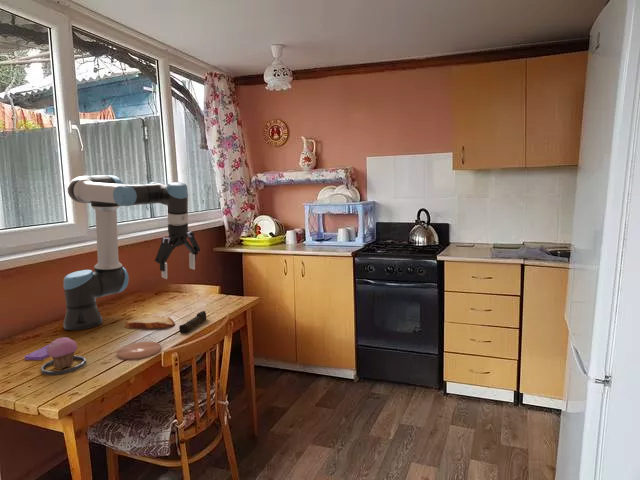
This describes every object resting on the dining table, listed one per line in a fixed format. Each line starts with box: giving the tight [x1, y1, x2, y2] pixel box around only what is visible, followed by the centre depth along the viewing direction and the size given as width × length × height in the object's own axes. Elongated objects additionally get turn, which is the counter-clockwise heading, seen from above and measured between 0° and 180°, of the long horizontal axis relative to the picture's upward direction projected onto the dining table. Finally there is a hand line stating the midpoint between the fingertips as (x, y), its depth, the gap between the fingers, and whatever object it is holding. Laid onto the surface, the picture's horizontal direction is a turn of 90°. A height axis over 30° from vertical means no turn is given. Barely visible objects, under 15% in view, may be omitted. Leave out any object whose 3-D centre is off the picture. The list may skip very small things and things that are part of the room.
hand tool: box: [178, 310, 207, 335], centre depth 196 cm, size 19×4×5 cm, turn 163°
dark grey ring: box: [40, 355, 87, 376], centre depth 157 cm, size 13×13×1 cm
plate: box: [116, 341, 162, 361], centre depth 169 cm, size 15×15×1 cm
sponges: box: [24, 343, 51, 361], centre depth 171 cm, size 7×13×2 cm, turn 171°
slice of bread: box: [124, 316, 176, 330], centre depth 198 cm, size 18×18×4 cm
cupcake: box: [47, 337, 78, 370], centre depth 157 cm, size 9×9×10 cm
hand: (178, 273), depth 187 cm, fingers open, 13 cm apart
